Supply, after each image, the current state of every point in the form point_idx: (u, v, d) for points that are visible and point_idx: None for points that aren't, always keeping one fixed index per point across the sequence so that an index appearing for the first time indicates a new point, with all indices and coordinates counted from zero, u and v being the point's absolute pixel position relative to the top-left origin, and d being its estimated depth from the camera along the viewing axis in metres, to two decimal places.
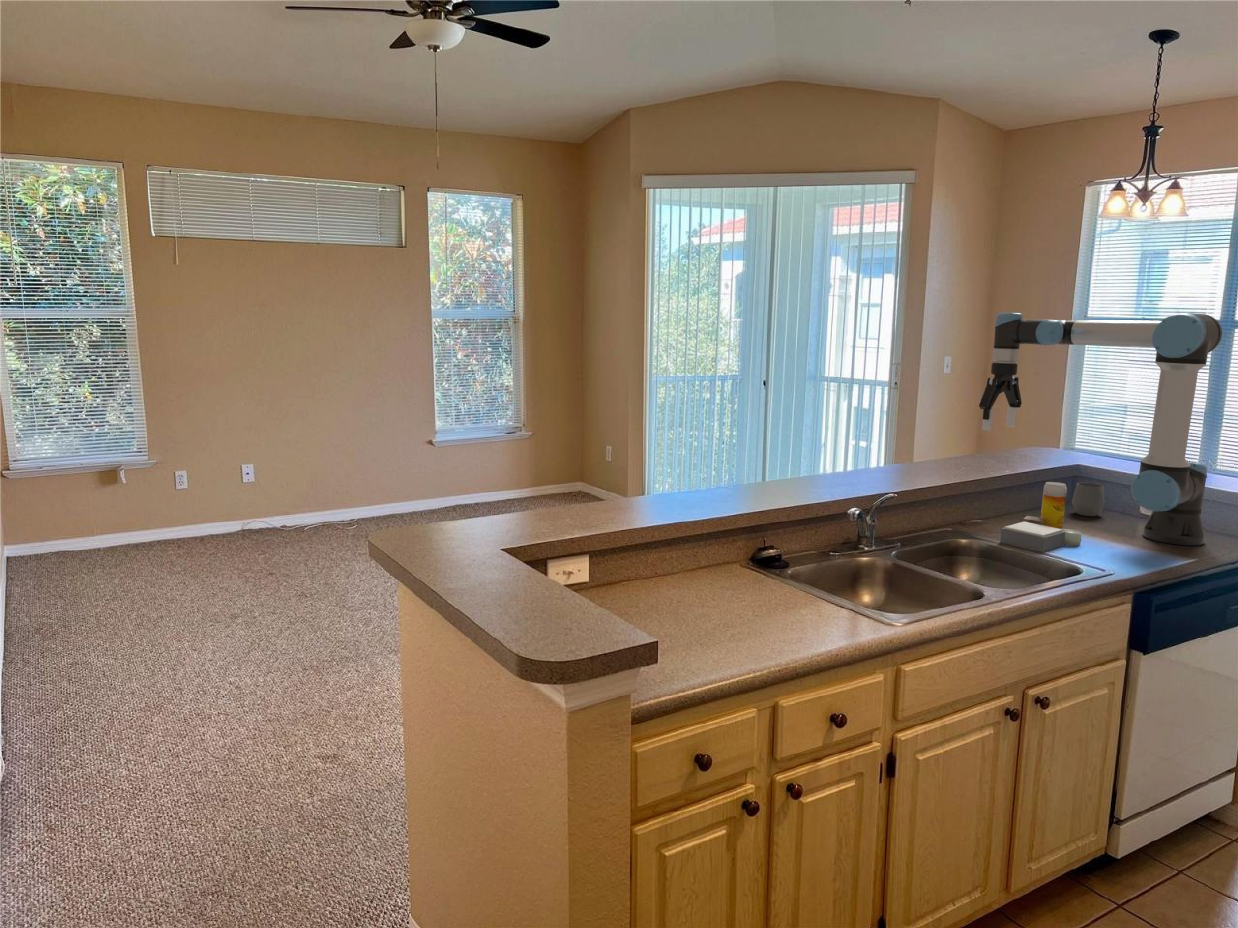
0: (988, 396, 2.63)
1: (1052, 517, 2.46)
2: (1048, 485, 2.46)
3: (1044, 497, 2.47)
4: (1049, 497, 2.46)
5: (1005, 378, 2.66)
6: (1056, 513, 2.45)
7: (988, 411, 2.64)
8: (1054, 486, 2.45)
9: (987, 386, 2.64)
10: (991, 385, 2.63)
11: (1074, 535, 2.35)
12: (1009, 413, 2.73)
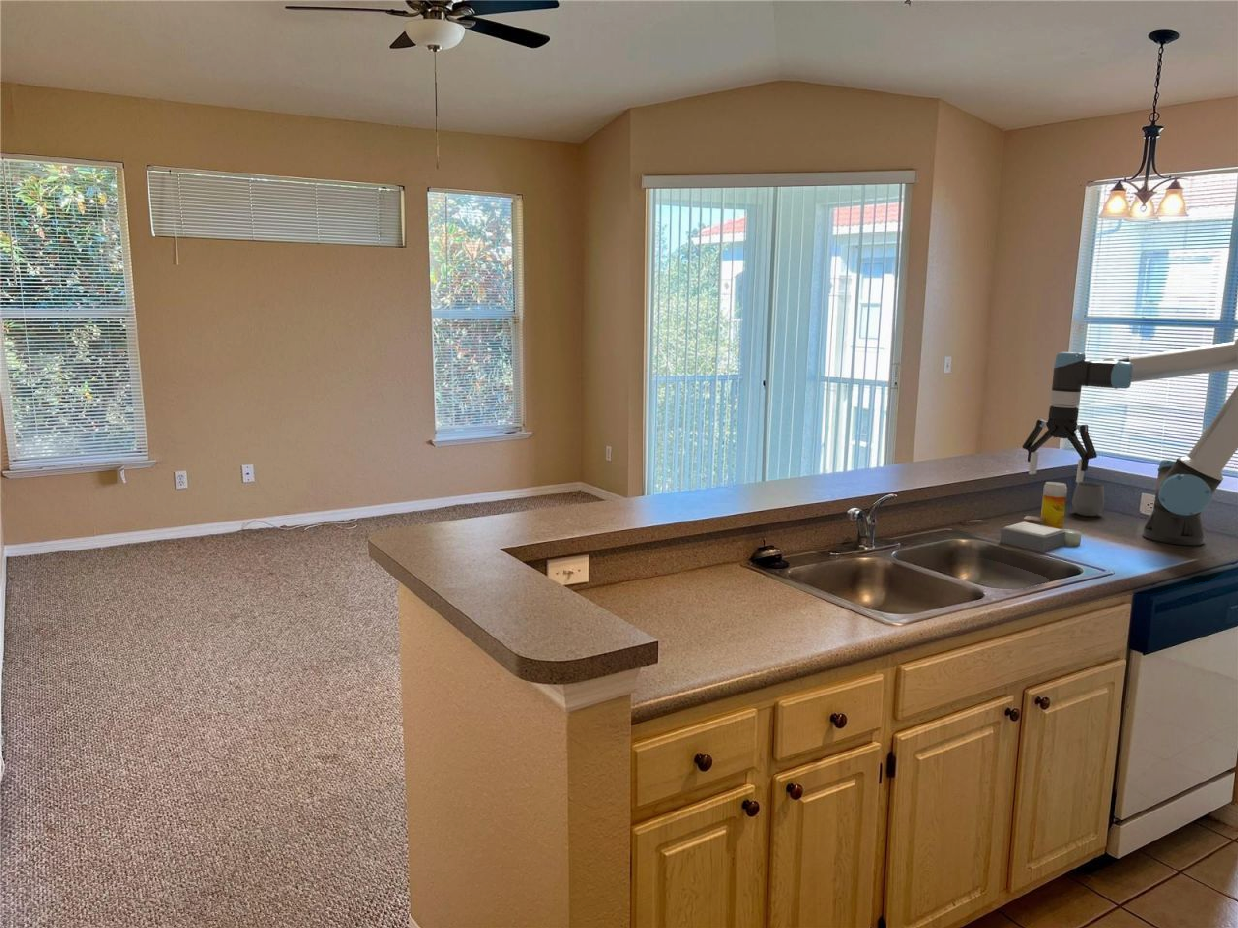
0: None
1: (1052, 517, 2.46)
2: (1048, 485, 2.46)
3: (1044, 497, 2.47)
4: (1049, 497, 2.46)
5: (1058, 422, 2.44)
6: (1056, 513, 2.45)
7: (1030, 453, 2.51)
8: (1054, 486, 2.45)
9: None
10: None
11: (1074, 535, 2.35)
12: None
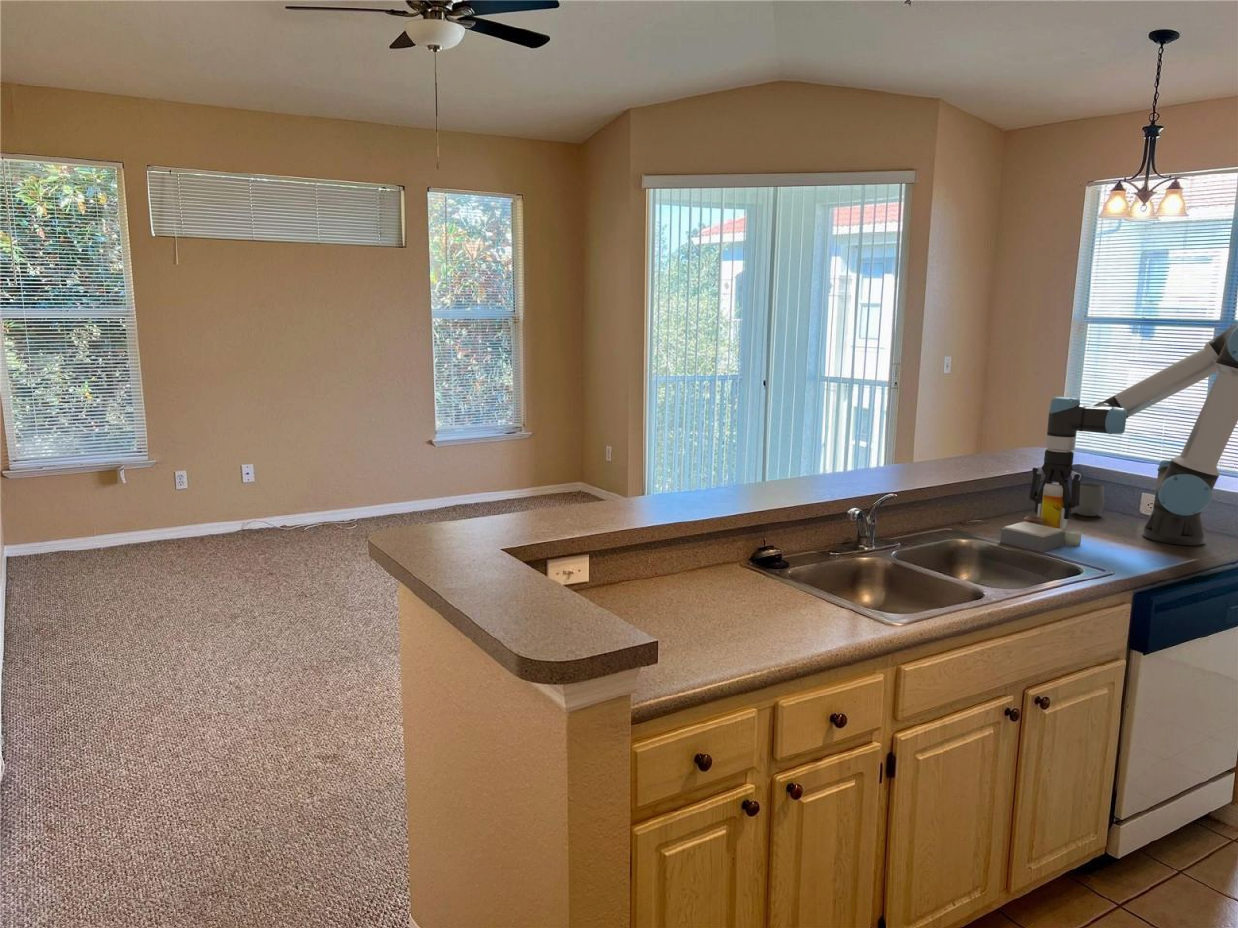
0: None
1: (1052, 517, 2.46)
2: (1048, 485, 2.46)
3: (1044, 497, 2.47)
4: (1049, 497, 2.46)
5: (1053, 467, 2.46)
6: (1056, 513, 2.45)
7: (1037, 504, 2.51)
8: (1054, 486, 2.45)
9: None
10: None
11: (1074, 535, 2.35)
12: None
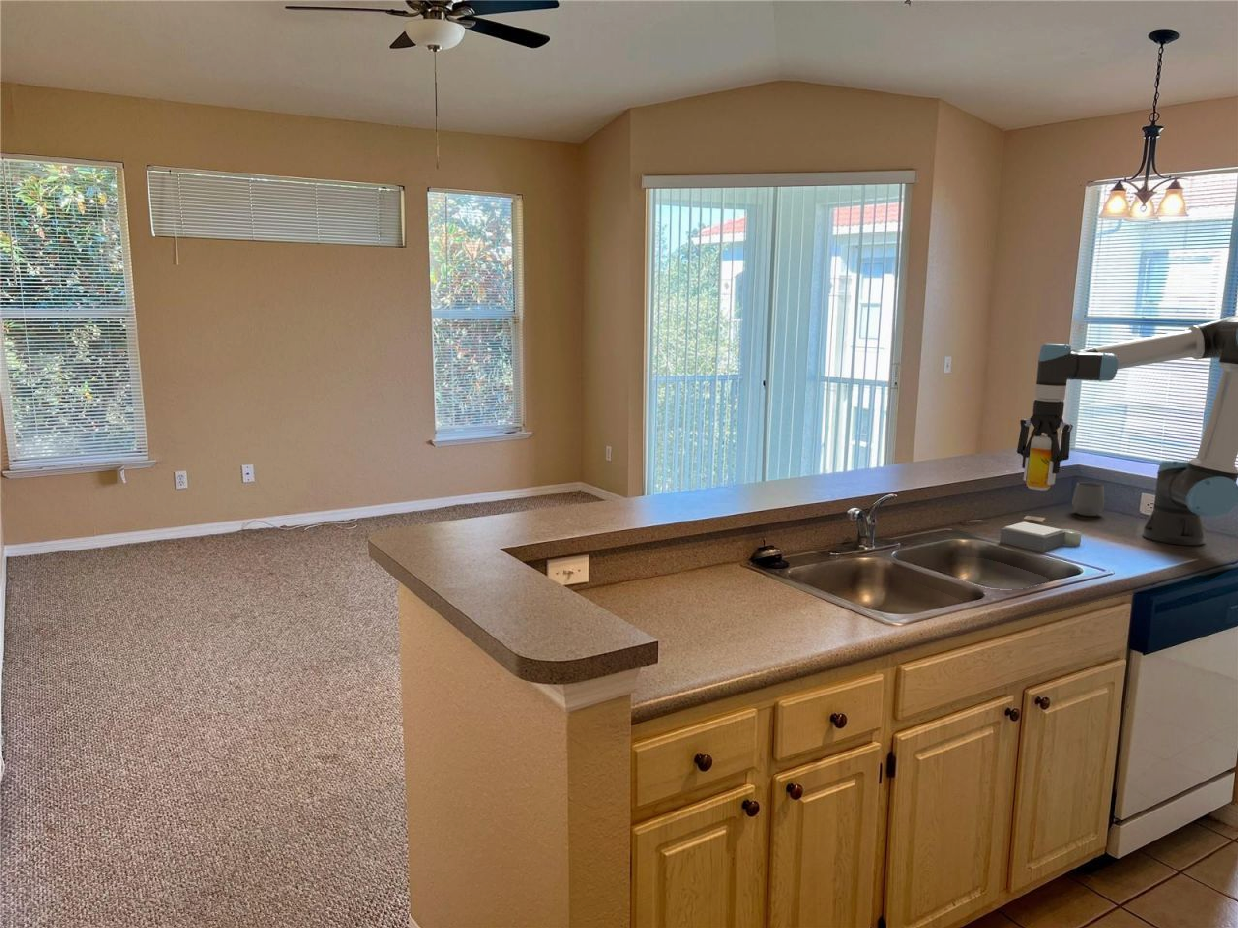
0: None
1: (1040, 471, 2.33)
2: (1036, 437, 2.33)
3: (1032, 450, 2.34)
4: (1037, 450, 2.33)
5: (1042, 418, 2.33)
6: (1044, 466, 2.32)
7: (1025, 459, 2.38)
8: (1042, 438, 2.31)
9: None
10: None
11: (1074, 535, 2.35)
12: None
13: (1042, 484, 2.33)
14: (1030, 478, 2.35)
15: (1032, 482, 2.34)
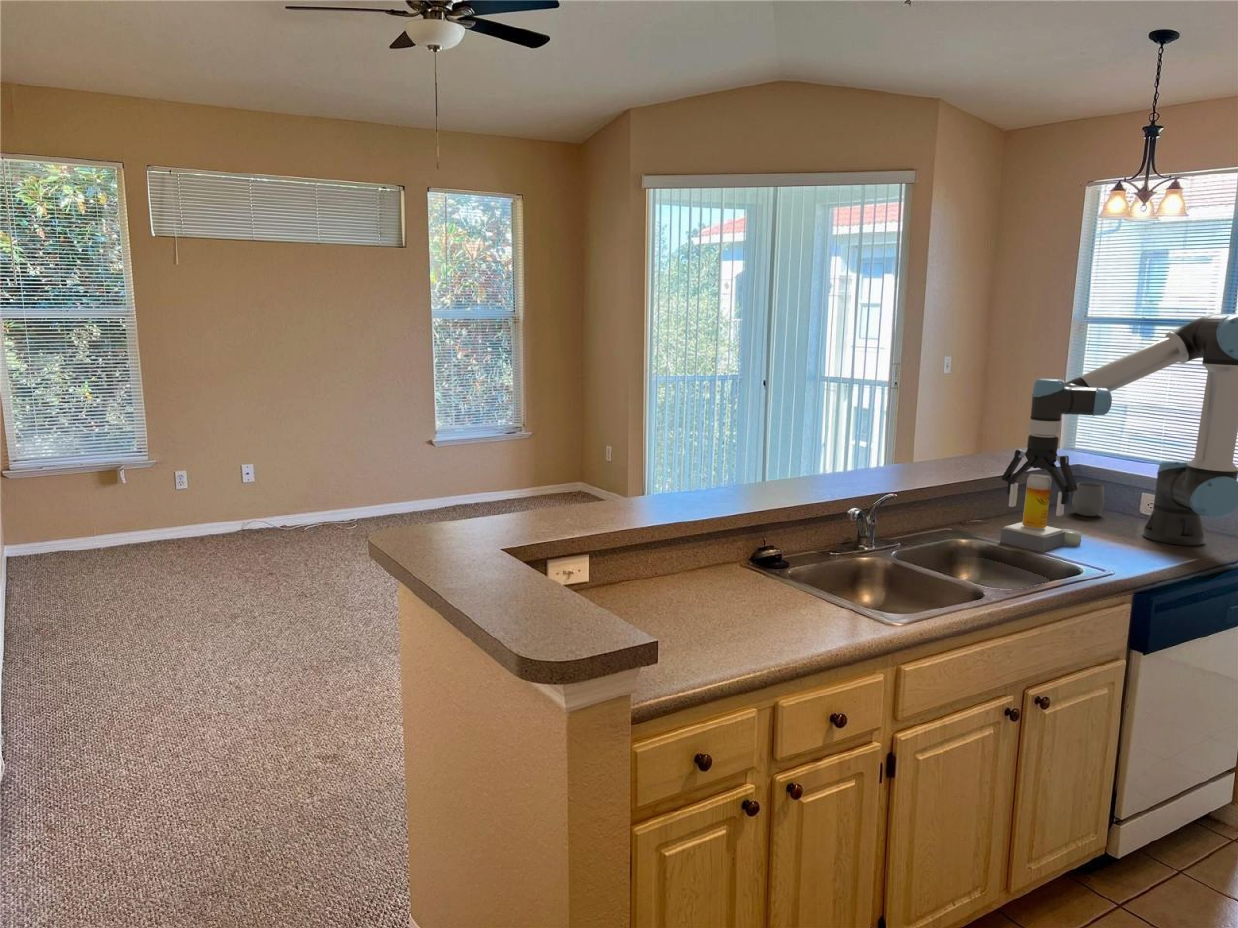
0: None
1: (1036, 511, 2.33)
2: (1032, 477, 2.33)
3: (1027, 490, 2.34)
4: (1032, 490, 2.32)
5: (1037, 453, 2.32)
6: (1040, 506, 2.32)
7: (1009, 485, 2.40)
8: (1038, 478, 2.31)
9: None
10: None
11: (1074, 535, 2.35)
12: None
13: (1038, 524, 2.33)
14: (1026, 518, 2.35)
15: (1028, 521, 2.34)
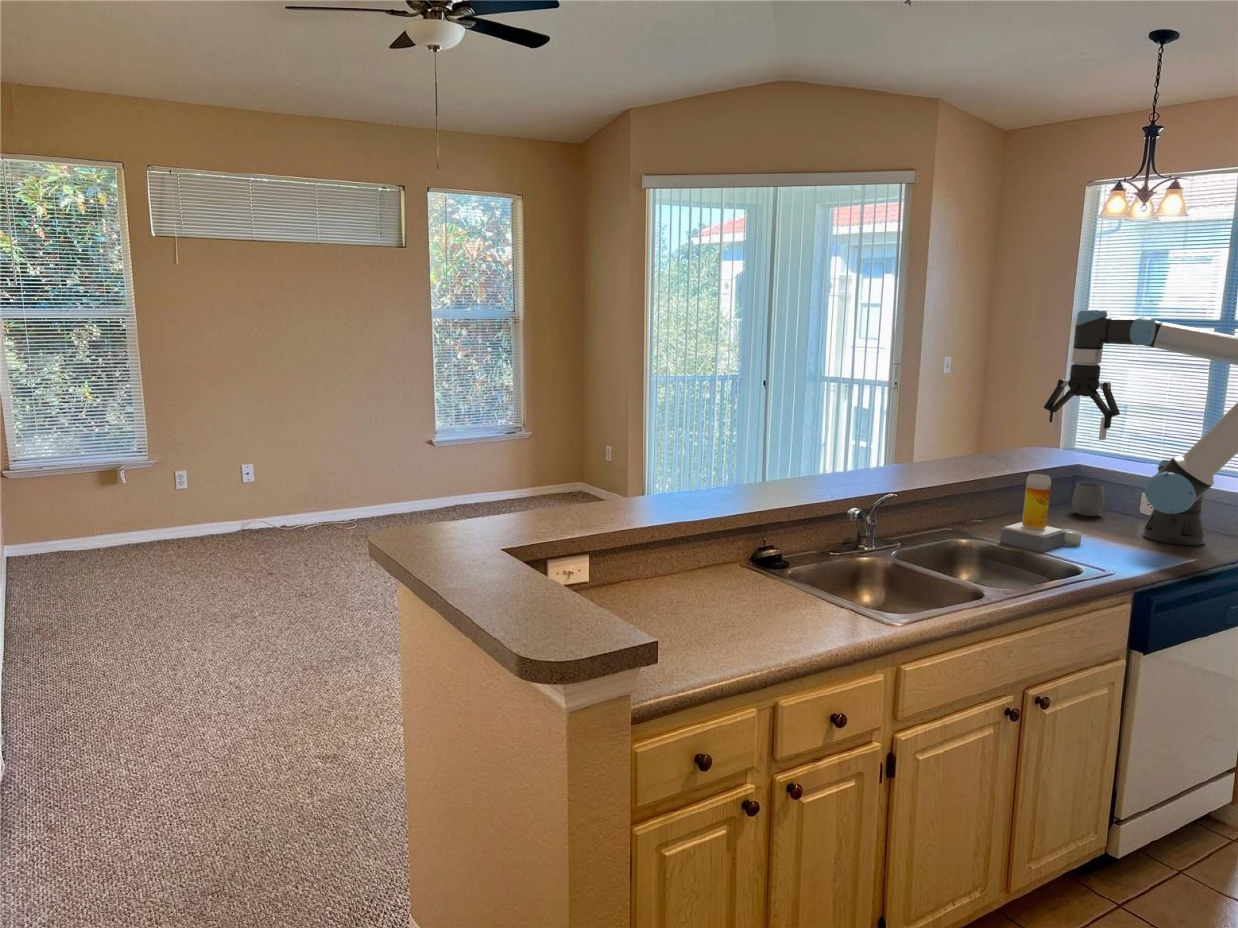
0: None
1: (1035, 511, 2.33)
2: (1031, 477, 2.33)
3: (1027, 490, 2.34)
4: (1032, 490, 2.32)
5: (1080, 381, 2.44)
6: (1039, 506, 2.32)
7: (1052, 413, 2.51)
8: (1037, 478, 2.31)
9: None
10: None
11: (1074, 535, 2.35)
12: None
13: (1038, 524, 2.33)
14: (1026, 518, 2.35)
15: (1028, 522, 2.34)
